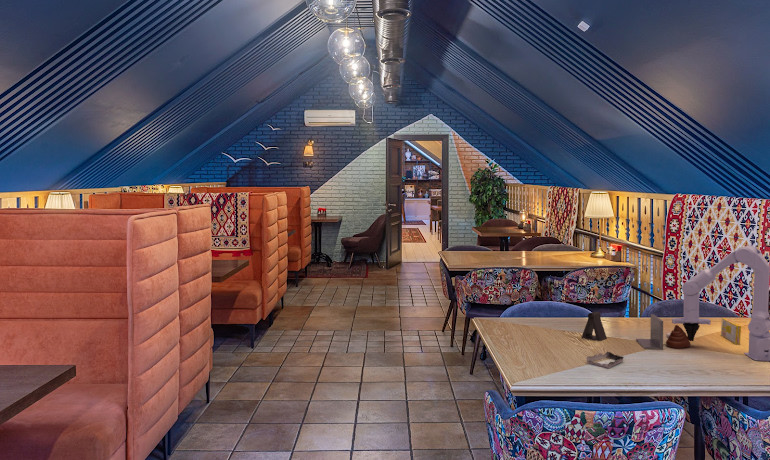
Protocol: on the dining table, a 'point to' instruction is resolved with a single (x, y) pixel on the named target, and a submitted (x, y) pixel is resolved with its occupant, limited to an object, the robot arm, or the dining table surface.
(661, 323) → the bookend
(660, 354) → the dining table surface
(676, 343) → the poop emoji
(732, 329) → the candy box
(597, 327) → the phone stand
